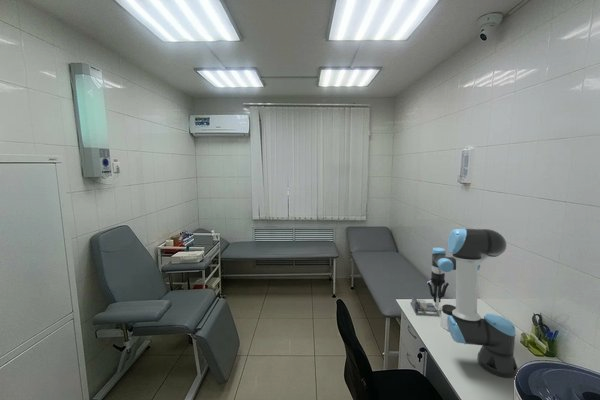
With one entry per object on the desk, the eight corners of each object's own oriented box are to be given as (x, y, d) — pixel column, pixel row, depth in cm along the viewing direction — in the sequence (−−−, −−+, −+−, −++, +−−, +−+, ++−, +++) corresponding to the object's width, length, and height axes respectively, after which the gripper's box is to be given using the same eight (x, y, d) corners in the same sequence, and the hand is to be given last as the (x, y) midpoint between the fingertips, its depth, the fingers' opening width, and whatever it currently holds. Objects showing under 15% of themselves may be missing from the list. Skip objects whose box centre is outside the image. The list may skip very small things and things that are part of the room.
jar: (454, 333, 149) (455, 313, 148) (439, 327, 155) (439, 308, 154) (459, 326, 156) (460, 307, 154) (444, 321, 161) (445, 302, 160)
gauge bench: (439, 316, 166) (440, 305, 165) (416, 315, 169) (416, 304, 168) (432, 304, 180) (432, 294, 179) (410, 303, 182) (410, 293, 181)
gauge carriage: (428, 311, 168) (428, 306, 168) (421, 311, 169) (421, 305, 168) (424, 305, 176) (424, 299, 176) (417, 304, 177) (418, 299, 177)
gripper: (446, 270, 173) (445, 304, 176) (425, 269, 175) (424, 303, 178) (451, 274, 165) (449, 310, 168) (429, 273, 167) (427, 309, 170)
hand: (436, 306), depth 173 cm, fingers closed
